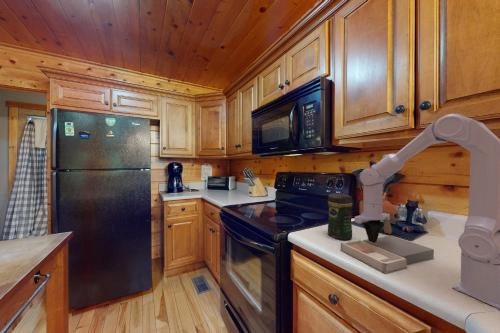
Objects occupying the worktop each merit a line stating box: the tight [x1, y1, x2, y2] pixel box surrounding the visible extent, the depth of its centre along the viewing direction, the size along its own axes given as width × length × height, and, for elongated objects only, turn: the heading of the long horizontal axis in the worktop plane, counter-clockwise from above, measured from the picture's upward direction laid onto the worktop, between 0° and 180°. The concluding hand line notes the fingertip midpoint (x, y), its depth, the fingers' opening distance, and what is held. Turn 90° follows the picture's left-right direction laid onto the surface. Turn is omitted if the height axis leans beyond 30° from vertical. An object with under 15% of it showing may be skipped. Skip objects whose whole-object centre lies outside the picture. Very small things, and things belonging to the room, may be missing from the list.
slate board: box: [362, 234, 435, 266], centre depth 70 cm, size 14×15×3 cm
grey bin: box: [340, 239, 408, 275], centre depth 66 cm, size 16×9×3 cm, turn 20°
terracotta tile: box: [351, 244, 369, 254], centre depth 69 cm, size 4×4×2 cm
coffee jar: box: [327, 192, 353, 241], centre depth 86 cm, size 10×8×19 cm
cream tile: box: [367, 252, 390, 262], centre depth 62 cm, size 4×4×2 cm
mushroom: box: [382, 200, 398, 235], centre depth 90 cm, size 8×8×15 cm
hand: (372, 241), depth 70 cm, fingers closed
